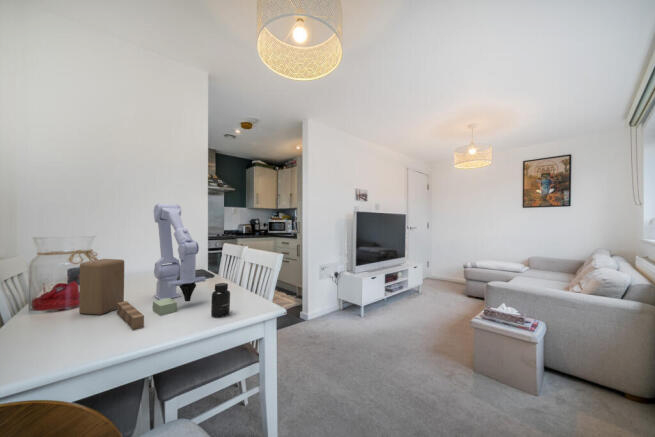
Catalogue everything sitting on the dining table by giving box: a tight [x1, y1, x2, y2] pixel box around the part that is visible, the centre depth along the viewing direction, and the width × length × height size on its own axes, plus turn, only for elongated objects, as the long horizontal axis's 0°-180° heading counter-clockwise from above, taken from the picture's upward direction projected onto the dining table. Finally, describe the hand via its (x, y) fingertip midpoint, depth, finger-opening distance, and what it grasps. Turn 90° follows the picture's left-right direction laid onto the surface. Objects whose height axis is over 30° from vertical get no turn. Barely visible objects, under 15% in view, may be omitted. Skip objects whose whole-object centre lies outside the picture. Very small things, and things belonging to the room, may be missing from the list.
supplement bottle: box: [210, 282, 231, 318], centre depth 98 cm, size 7×7×12 cm
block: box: [78, 258, 125, 316], centre depth 100 cm, size 10×10×20 cm
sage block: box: [152, 298, 178, 317], centre depth 101 cm, size 8×6×4 cm
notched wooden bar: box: [116, 300, 145, 331], centre depth 92 cm, size 22×3×4 cm, turn 51°
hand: (187, 300), depth 107 cm, fingers closed
